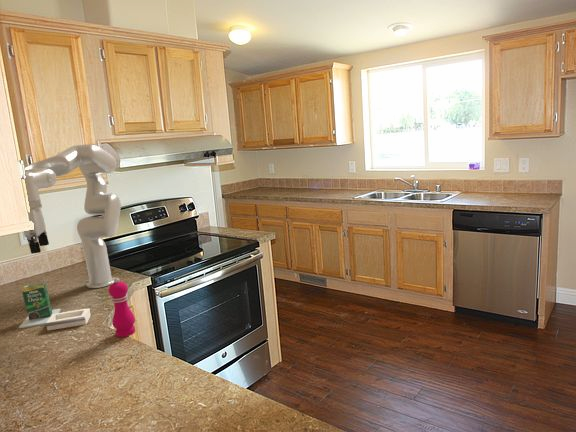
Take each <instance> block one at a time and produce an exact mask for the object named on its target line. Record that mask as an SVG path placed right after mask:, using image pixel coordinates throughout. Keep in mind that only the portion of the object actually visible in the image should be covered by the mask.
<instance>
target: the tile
mask: <svg viewBox="0 0 576 432" xmlns="http://www.w3.org/2000/svg"><path fill="white" fill-rule="evenodd" d="M56 313H61V308H54V309H52V314H56ZM50 317H51V316H49V317H43V318H37V319H31V320H29V317H28V316H26V318H25V319H24V320H23V321H22V322H21V323H20V325H19V326H18V329H20V330H21V329H26V328H32V327H38V326H44V325H45V324H46V322H47V321H48V320H49V318H50Z"/></svg>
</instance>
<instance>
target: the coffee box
mask: <svg viewBox="0 0 576 432" xmlns="http://www.w3.org/2000/svg"><path fill="white" fill-rule="evenodd" d="M21 293H22V297H23V300H24V305H25V308H26V313H27V317H29V320H31V319H37V318H43V317H49V316H51V315H52V310H53V309H52V306H51V302H50V296H49V293H48V288H47V284H46V282H42V283H35V284H30V285H29V284H28V285H23V286H22V287H21Z"/></svg>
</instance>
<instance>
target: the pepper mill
mask: <svg viewBox="0 0 576 432" xmlns="http://www.w3.org/2000/svg"><path fill="white" fill-rule="evenodd" d="M128 291H129V287H128V285H127V283H125V282H124V281H120V278H118V277H115V279H114V283H113V284H111V285H109V287H108V293H109V295H110V296H111V302H112V303H113V304H114V312H113V317H112V327H113V328H115V336H117V338H126V337H130V336H132V335H134V333H136V326H135V325H134V324H135V323H136V317H135V315H134V313H133V312H132V310H131V309H130V306H129V305H128V299H129V297H128Z"/></svg>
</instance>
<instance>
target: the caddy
mask: <svg viewBox="0 0 576 432" xmlns="http://www.w3.org/2000/svg"><path fill="white" fill-rule="evenodd" d="M90 310H91V309H90V308H81V309H75V310H74V309H73V310H69V311H63V312H59V313H56V314H52V315H51V317H50V318H49V320H48V321H47V322H46V324H44V325H45V327H46V329H47V331H48V332H49V331H53V330H54V331H55V330H59V329H60V330H61V329H64V328H71V327H77V326H83V325H87V323H88V321H89V320H90V317H91V316H92V315H91V311H90Z"/></svg>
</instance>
